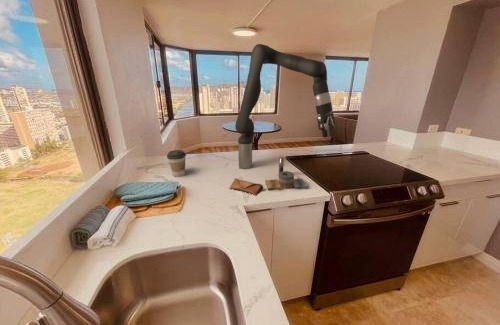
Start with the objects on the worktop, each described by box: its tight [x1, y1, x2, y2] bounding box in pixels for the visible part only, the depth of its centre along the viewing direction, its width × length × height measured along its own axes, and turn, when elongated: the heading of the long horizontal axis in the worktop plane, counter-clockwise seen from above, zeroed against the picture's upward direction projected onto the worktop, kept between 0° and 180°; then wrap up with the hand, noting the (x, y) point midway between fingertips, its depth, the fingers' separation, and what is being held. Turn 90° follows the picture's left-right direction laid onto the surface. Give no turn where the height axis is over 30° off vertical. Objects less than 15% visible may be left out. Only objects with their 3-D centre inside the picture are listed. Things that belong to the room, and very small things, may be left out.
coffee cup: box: [166, 149, 187, 178], centre depth 132 cm, size 11×11×15 cm
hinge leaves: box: [264, 170, 309, 191], centre depth 119 cm, size 22×10×7 cm, turn 95°
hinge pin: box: [277, 156, 285, 177], centre depth 130 cm, size 3×3×12 cm
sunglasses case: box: [228, 178, 264, 196], centre depth 116 cm, size 18×7×7 cm, turn 64°
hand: (329, 135), depth 107 cm, fingers open, 8 cm apart
